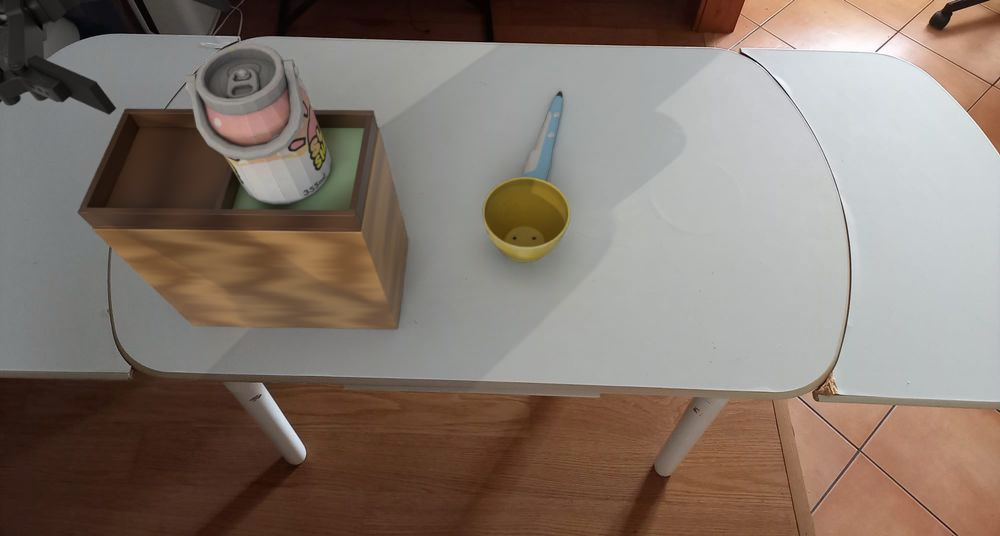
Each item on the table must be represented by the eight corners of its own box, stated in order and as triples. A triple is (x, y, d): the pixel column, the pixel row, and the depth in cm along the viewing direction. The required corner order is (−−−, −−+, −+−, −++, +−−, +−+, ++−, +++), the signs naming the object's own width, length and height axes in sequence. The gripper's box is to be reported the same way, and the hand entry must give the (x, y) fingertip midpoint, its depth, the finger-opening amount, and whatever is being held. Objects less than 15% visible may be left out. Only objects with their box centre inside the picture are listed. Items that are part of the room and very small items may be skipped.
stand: (192, 326, 71) (91, 229, 54) (219, 237, 78) (137, 125, 60) (398, 329, 71) (362, 232, 54) (408, 239, 77) (379, 127, 60)
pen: (541, 200, 80) (542, 187, 77) (517, 196, 80) (517, 182, 78) (569, 96, 89) (571, 81, 87) (548, 93, 90) (549, 78, 87)
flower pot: (564, 211, 79) (568, 176, 73) (567, 280, 74) (572, 248, 68) (485, 211, 79) (483, 176, 73) (483, 280, 74) (481, 248, 68)
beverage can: (339, 211, 54) (298, 112, 44) (242, 228, 53) (177, 131, 43) (332, 134, 59) (294, 28, 48) (242, 148, 58) (184, 44, 48)
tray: (93, 228, 54) (76, 212, 52) (137, 125, 60) (124, 108, 58) (360, 231, 54) (354, 215, 52) (378, 127, 60) (373, 109, 58)
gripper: (114, -61, 63) (278, -3, 58) (-104, 94, 52) (75, 182, 47) (69, -139, 57) (249, -82, 52) (-190, 18, 46) (6, 111, 41)
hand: (166, 44), depth 49 cm, fingers open, 13 cm apart
